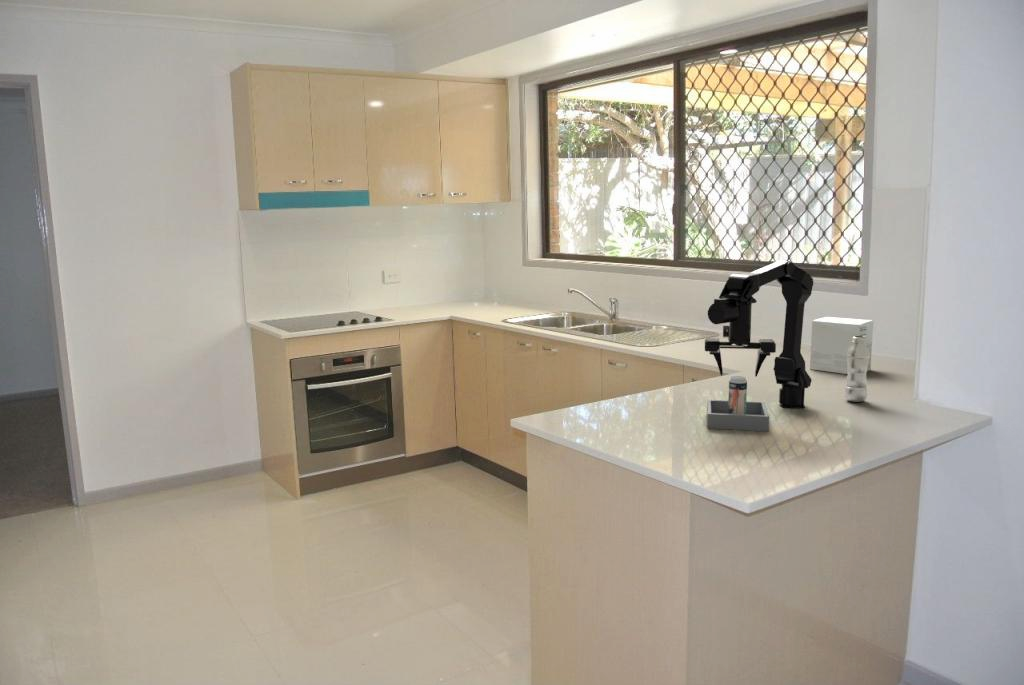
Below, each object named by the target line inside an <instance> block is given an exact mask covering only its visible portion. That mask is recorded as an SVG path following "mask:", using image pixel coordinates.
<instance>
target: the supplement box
mask: <svg viewBox="0 0 1024 685" xmlns="http://www.w3.org/2000/svg"><path fill="white" fill-rule="evenodd" d="M873 331H874V320H873V319H859V318H858V319H857V318H848V317H847V318H846V317H833V316H825V317H820V318H816V319H813V320H812V321H811V335H810V336H811V338H810V356H809V370H814V371H821V372H827V373H836V374H843V375H848V363H847V352H848V350H849V348H850V347H851V346H852V345H853V342H852V340H853V336H865V337H866V343H865V346H866V347H867V349H868V351H869V354H870V356H869V361H868V366H867V372H869V371H871V370H872V369H871V368H872V366H871V365H872V352H873V351H872V349H873V333H874V332H873Z"/></svg>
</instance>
